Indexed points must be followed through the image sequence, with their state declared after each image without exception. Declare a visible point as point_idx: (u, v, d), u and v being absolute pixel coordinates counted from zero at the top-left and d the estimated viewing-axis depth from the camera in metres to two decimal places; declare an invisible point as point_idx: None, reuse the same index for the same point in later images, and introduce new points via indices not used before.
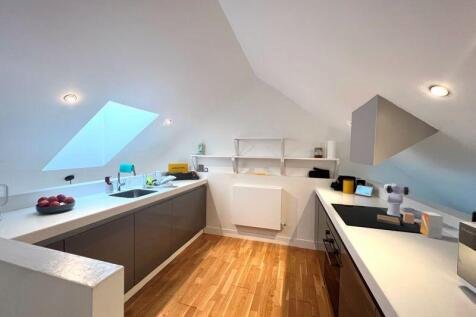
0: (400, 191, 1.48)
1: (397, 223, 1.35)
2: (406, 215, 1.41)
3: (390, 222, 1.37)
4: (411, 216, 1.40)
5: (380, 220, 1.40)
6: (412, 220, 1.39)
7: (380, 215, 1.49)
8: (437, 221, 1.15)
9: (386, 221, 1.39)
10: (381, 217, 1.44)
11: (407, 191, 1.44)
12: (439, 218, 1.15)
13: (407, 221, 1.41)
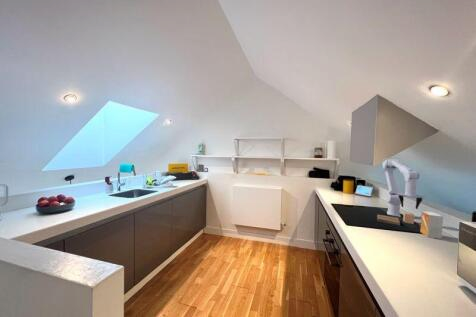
0: None
1: (397, 223, 1.35)
2: (406, 215, 1.41)
3: (390, 222, 1.37)
4: (411, 216, 1.40)
5: (380, 220, 1.40)
6: (412, 220, 1.39)
7: (380, 215, 1.49)
8: (437, 221, 1.15)
9: (386, 221, 1.39)
10: (381, 217, 1.44)
11: None
12: (439, 218, 1.15)
13: (407, 221, 1.41)
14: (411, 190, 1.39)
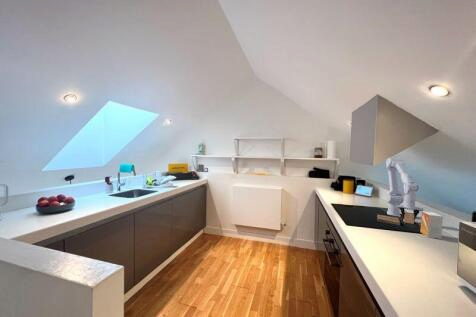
0: None
1: (397, 223, 1.35)
2: (406, 215, 1.41)
3: (390, 222, 1.37)
4: (411, 216, 1.40)
5: (380, 220, 1.40)
6: (412, 220, 1.39)
7: (380, 215, 1.49)
8: (437, 221, 1.15)
9: (386, 221, 1.39)
10: (381, 217, 1.44)
11: None
12: (439, 218, 1.15)
13: (407, 221, 1.41)
14: (410, 203, 1.40)
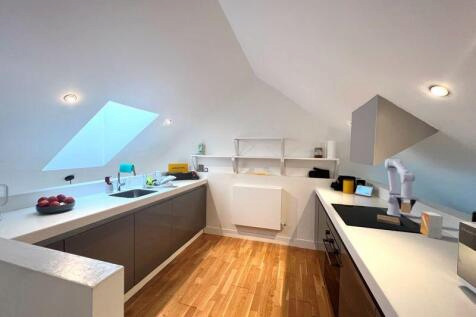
0: None
1: (397, 223, 1.35)
2: (403, 205, 1.41)
3: (390, 222, 1.37)
4: (408, 206, 1.39)
5: (380, 220, 1.40)
6: (409, 210, 1.39)
7: (380, 215, 1.49)
8: (437, 221, 1.15)
9: (386, 221, 1.39)
10: (381, 217, 1.44)
11: None
12: (439, 218, 1.15)
13: (404, 211, 1.41)
14: (406, 192, 1.39)
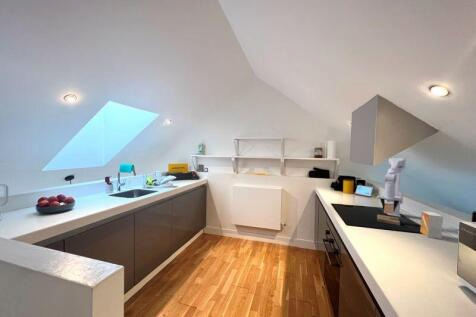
0: None
1: (397, 223, 1.35)
2: (386, 206, 1.41)
3: (390, 222, 1.37)
4: (391, 207, 1.40)
5: (380, 220, 1.40)
6: (392, 211, 1.40)
7: (380, 215, 1.49)
8: (437, 221, 1.15)
9: (386, 221, 1.39)
10: (381, 217, 1.44)
11: None
12: (439, 218, 1.15)
13: (387, 212, 1.41)
14: (389, 193, 1.40)
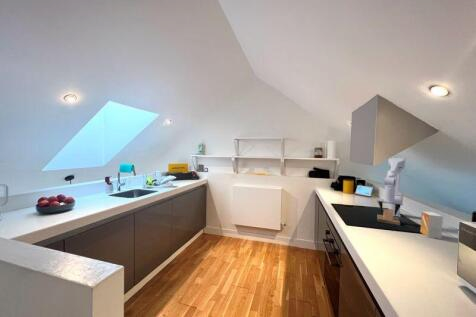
0: None
1: (397, 223, 1.35)
2: (386, 211, 1.41)
3: (390, 222, 1.37)
4: (390, 212, 1.40)
5: (380, 220, 1.40)
6: (391, 216, 1.40)
7: (380, 215, 1.49)
8: (437, 221, 1.15)
9: (386, 221, 1.39)
10: (381, 217, 1.44)
11: None
12: (439, 218, 1.15)
13: (387, 217, 1.41)
14: (389, 197, 1.40)
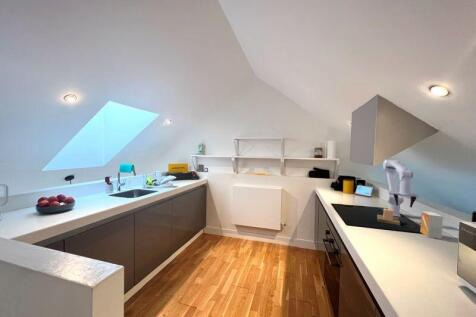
0: (407, 194, 1.44)
1: (397, 223, 1.35)
2: (386, 211, 1.41)
3: (390, 222, 1.37)
4: (390, 212, 1.40)
5: (380, 220, 1.40)
6: (391, 216, 1.40)
7: (380, 215, 1.49)
8: (437, 221, 1.15)
9: (386, 221, 1.39)
10: (381, 217, 1.44)
11: None
12: (439, 218, 1.15)
13: (387, 217, 1.41)
14: (405, 189, 1.42)
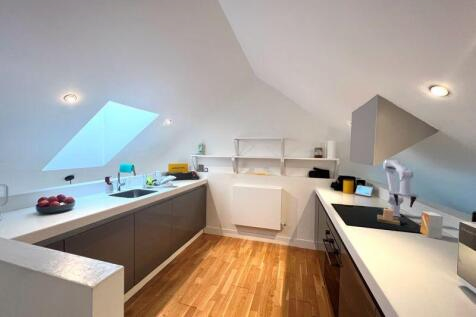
0: (407, 194, 1.44)
1: (397, 223, 1.35)
2: (386, 211, 1.41)
3: (390, 222, 1.37)
4: (390, 212, 1.40)
5: (380, 220, 1.40)
6: (391, 216, 1.40)
7: (380, 215, 1.49)
8: (437, 221, 1.15)
9: (386, 221, 1.39)
10: (381, 217, 1.44)
11: None
12: (439, 218, 1.15)
13: (387, 217, 1.41)
14: (405, 189, 1.42)
